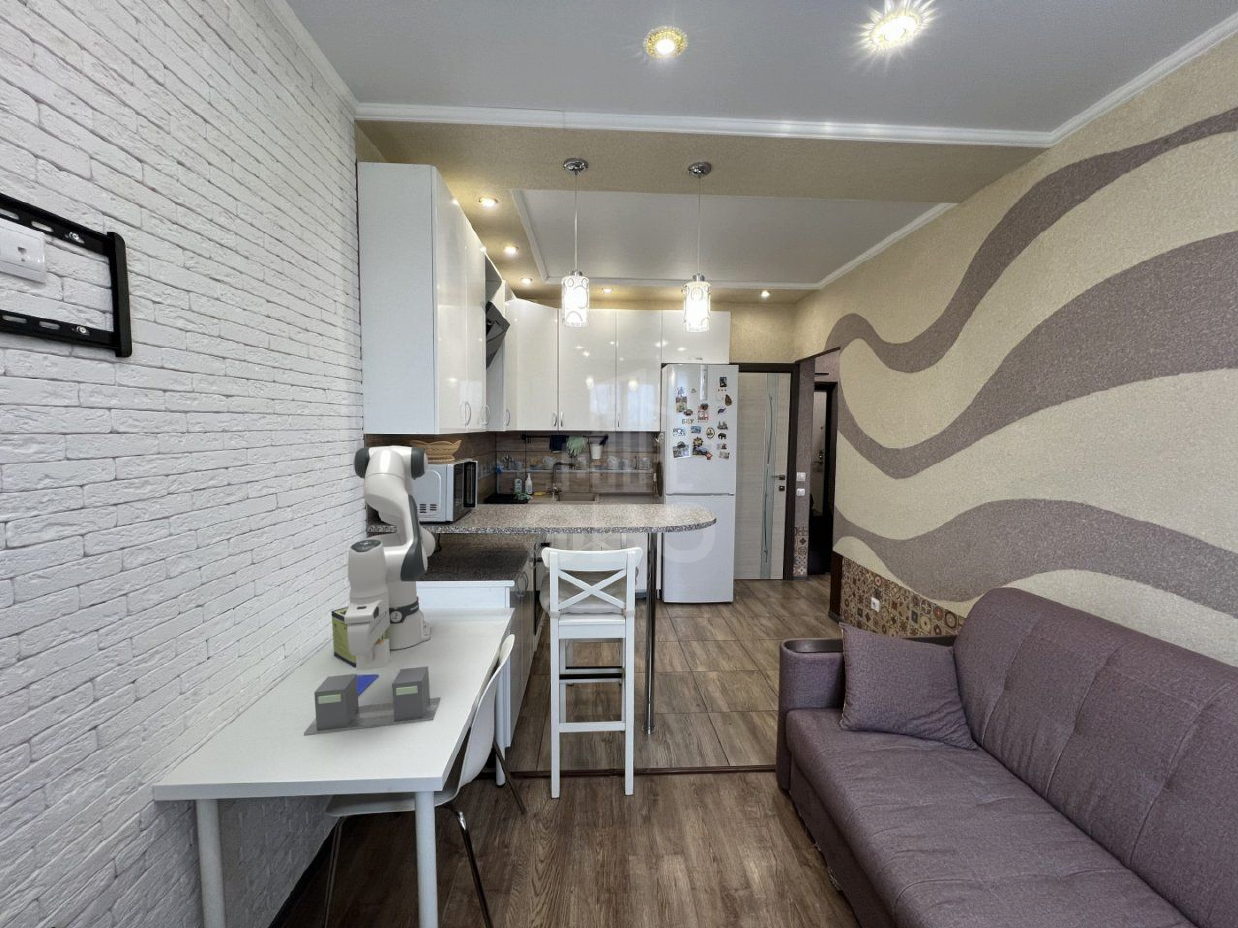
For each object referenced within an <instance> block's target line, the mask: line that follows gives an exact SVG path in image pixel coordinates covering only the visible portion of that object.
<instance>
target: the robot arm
mask: <svg viewBox="0 0 1238 928" xmlns="http://www.w3.org/2000/svg"><path fill="white" fill-rule="evenodd" d="M428 465H429V460H428V455H427V453H426V451H425V449H423V448H421V447H420V446H419V447H418V446H412V447H410V446H404V445H403V446H401V445H389V446H387V445H386V446H372V447H371V446H365V447H360V448H358V450H357V451H355V454H354V457H353V462H352V466H353V469H354V472H355V474H356V476H357V477H359V478H360V479H364V481H363V498H364V501H365V502H366V503H367V505H369V506H370V507H371V508H372V509H374V510H376V511H377V512H378V516H379V518H380V519H381V521H382V522H384V523H386V524H389V525H392V526H394V527H397V531H396V532H392V533H384V534H379V535H378V534H377V535H373V536H370V537H367V538H365V539H362V540H360V541H357V542H354V543H353V544H351V546H350V547H349V548H348V549H349V550H348V558H347V578H348V579H347V580H348V582H349V585H350V591H349V603H348V606H349V607H348V606H347V607H348V610H347V612H346V614H345V616H344V621H345V624H348V627H347V635H348V644H349V650H350V653H351V655H353V656H357V655H364V656H365V663H372V662H373V660H374V653H373V651H372V649H373V645H374V644H375V643H376V642H377V640H381V639H382V634H383V633H384V632H385V639H389V650H401V649H405V648H409V647H412V646H415V645H418V644H419V643H423V642H426V641H428V640H430V639H431V630H430V625H431V623H430V622H427V621H426V622H425V619H424V618H425V617H424V612H423V611H422V610H420V603H419V600H420V599H419V598H420V597H419V596H418V595H417V581H418V580H420V579H421V578H422V577H423V576H424V575H425V574H426V573H427V569H428V557H431V556H432V554H433V553H434V551H435V549H436V540H435V537H434V535H433V534H432V533H431V532H430V531H429V530H427V529H425V527H423V526H422V525H421V523H420V522H421V521H420V518H419V517H420V516H419V510H418V506H417V502H416V500H415V498H414V487H413V486H414V485H413V481H415V480H417V479H419V478H421V477H423V476H424V475H425V474H426V471H427V468H428Z"/></svg>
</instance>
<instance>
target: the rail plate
mask: <svg viewBox="0 0 1238 928" xmlns="http://www.w3.org/2000/svg"><path fill="white" fill-rule="evenodd" d="M440 701H441V697H440V696H439V697H438V696H437V697H430V701H429V704H428V706H427V709H426V711H425V714H424V716H423V717H416V718H408V719H399V720H394V708H393V702H387V703H386V702H385V703H377V704H369V705H359V709H358V710H357V712H356V713H355V715H354V716H353V718H352V719H351V721H350V722H349V724H348V725H347V726H340V727H332V728H323V729H317V725H316V717H315V718H314V719H313V721H312V722H311V723H310V724H309V726H308V727H307V728H306V729H305V731H303V735H304V736H309V735H310V736H311V735H317V734H328V733H335V732H344V731H352V730H360V729H368V728H377V727H385V726H394V725H395V726H396V725H401V724H408V723H409V724H410V723H419V722H420V723H421V722H426V721H427V722H429V721H434V718H435V715H436V712H437V710H438V707H439V704H440Z"/></svg>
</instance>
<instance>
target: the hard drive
mask: <svg viewBox="0 0 1238 928" xmlns="http://www.w3.org/2000/svg"><path fill="white" fill-rule="evenodd" d="M378 679H380V674H378V673H375V674H373V673H372V674H357V688H358V699H360V697H361V696H362V695H363V694H364V693H365V692H366V691H367V690H368V689H369V688H370V687H372V686H373V684H374V683H375V682H377V680H378Z"/></svg>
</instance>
